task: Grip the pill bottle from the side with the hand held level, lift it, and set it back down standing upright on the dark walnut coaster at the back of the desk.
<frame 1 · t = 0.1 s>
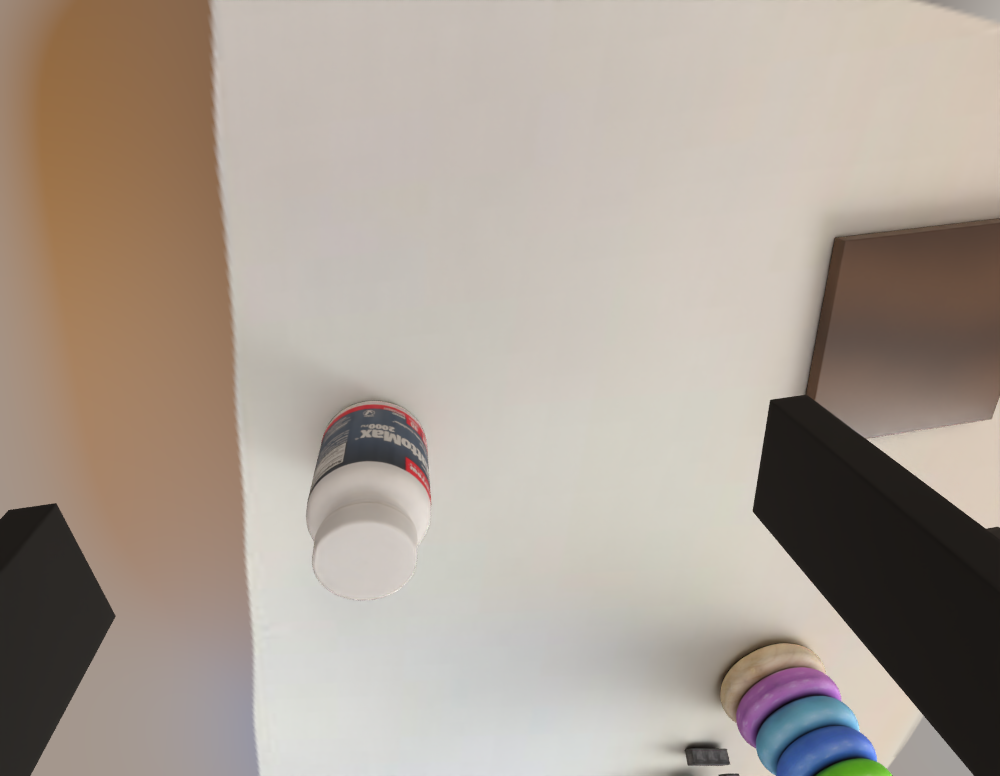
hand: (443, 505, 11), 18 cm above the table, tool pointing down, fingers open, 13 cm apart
stacking toy: (764, 672, 45), on the table
coaster: (914, 334, 33), on the table
pill bottle: (375, 440, 31), on the table
building blocks: (691, 764, 49), on the table
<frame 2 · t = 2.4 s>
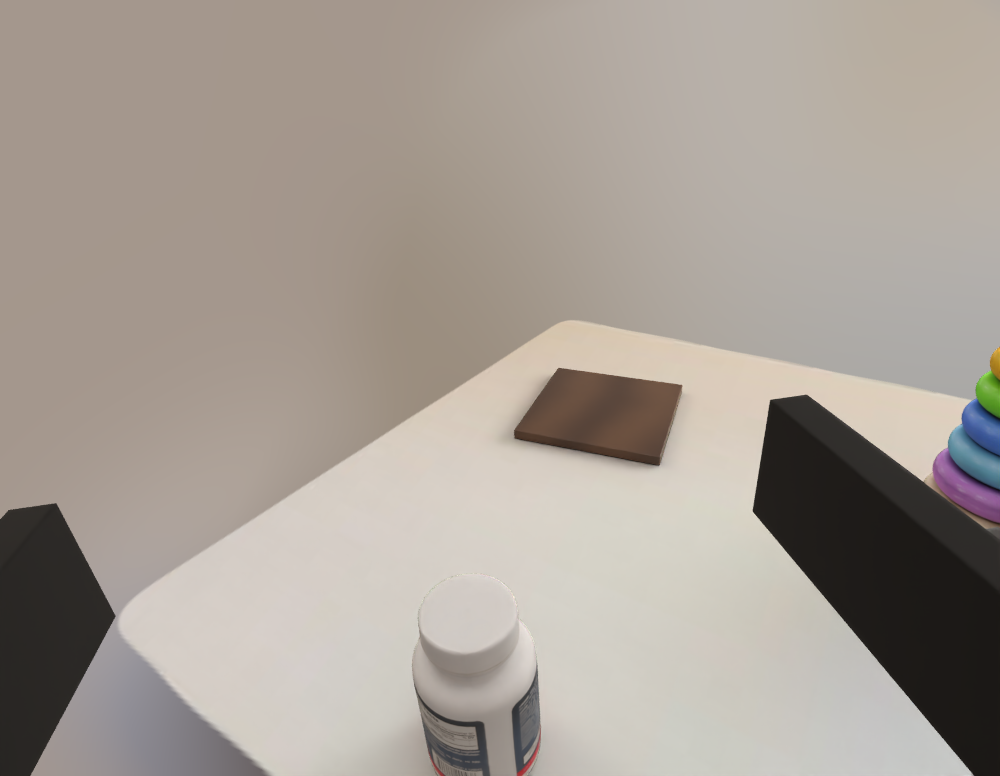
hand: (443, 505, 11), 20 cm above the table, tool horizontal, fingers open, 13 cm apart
stacking toy: (989, 521, 39), on the table
coaster: (602, 414, 52), on the table
pill bottle: (484, 742, 28), on the table
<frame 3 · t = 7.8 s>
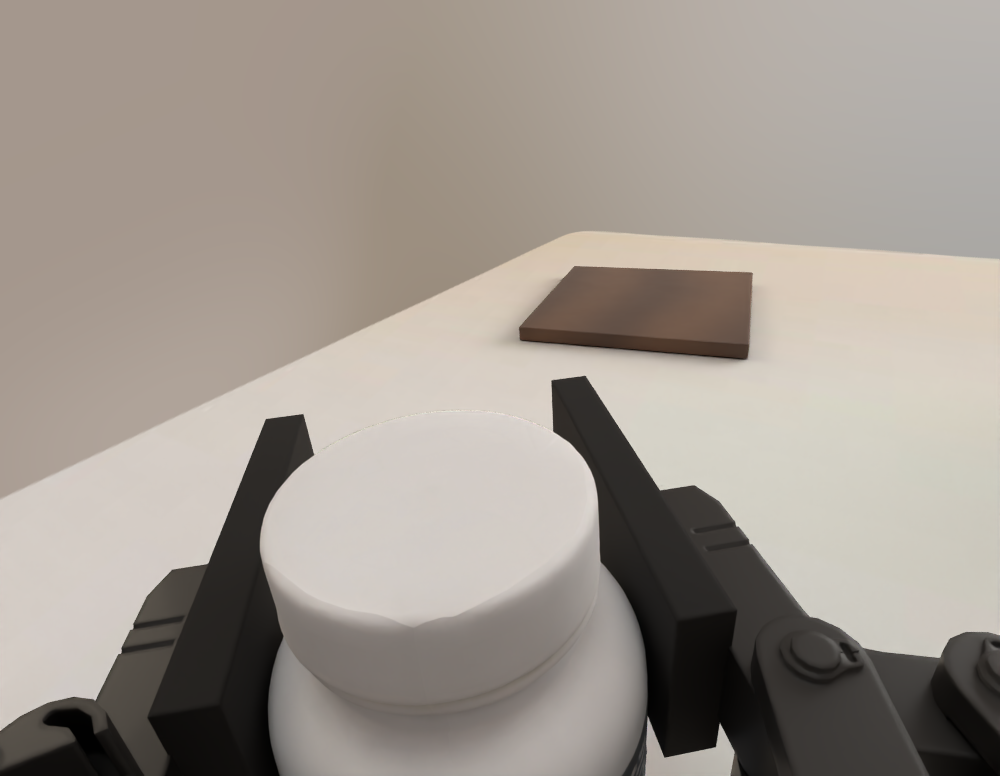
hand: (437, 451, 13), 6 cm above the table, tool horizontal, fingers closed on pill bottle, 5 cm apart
coaster: (644, 309, 36), on the table
when the fingers open (7 cm above the table, at t = 17.1 s): pill bottle stays where it is, resting on coaster.
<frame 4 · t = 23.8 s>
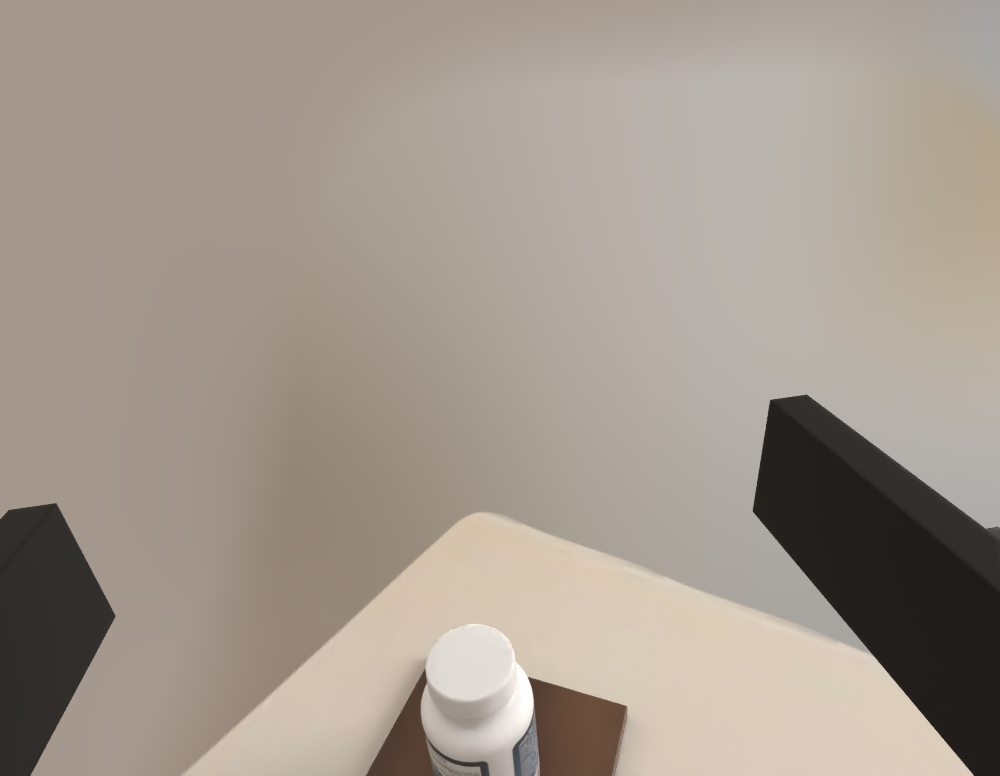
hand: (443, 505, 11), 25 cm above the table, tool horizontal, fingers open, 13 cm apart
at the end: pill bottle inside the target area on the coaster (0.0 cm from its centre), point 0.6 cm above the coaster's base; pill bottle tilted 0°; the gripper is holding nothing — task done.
